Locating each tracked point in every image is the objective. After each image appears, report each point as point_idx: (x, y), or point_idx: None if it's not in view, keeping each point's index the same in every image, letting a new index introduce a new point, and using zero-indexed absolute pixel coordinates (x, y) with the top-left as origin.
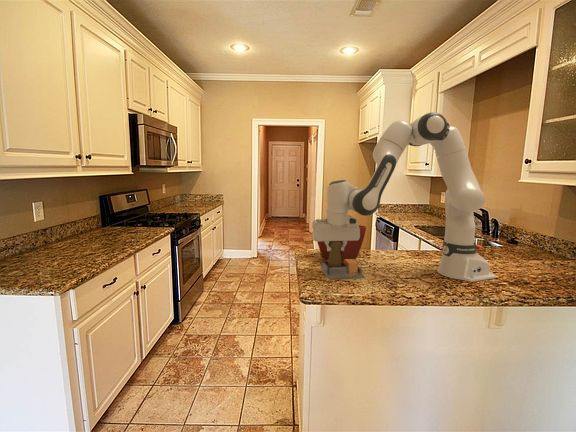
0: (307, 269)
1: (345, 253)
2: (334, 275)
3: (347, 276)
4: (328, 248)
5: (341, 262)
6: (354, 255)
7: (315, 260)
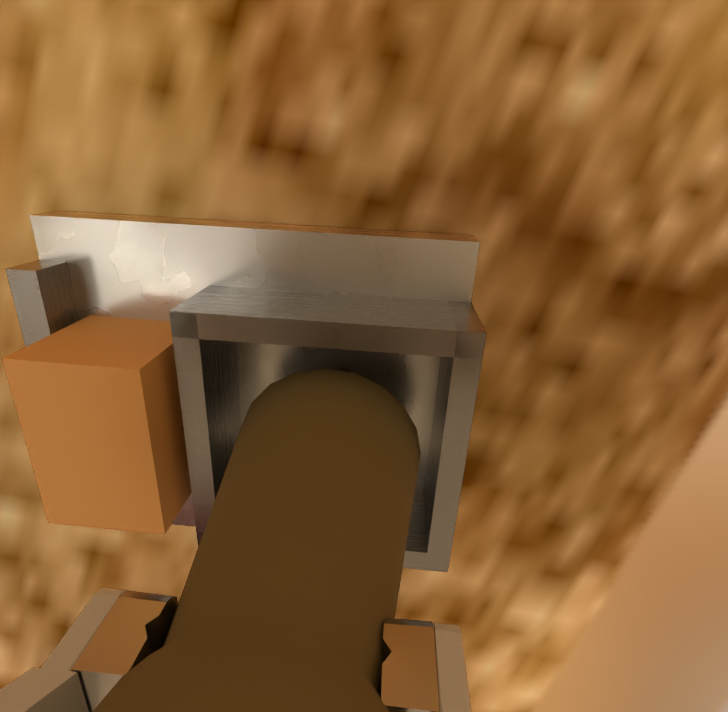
0: (559, 548)
1: None
2: (400, 258)
3: (243, 225)
4: (459, 686)
5: None
6: None
7: None
